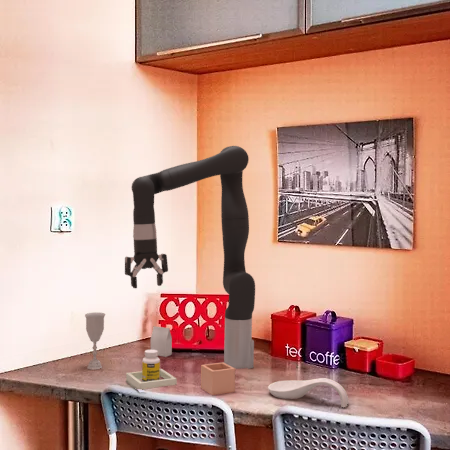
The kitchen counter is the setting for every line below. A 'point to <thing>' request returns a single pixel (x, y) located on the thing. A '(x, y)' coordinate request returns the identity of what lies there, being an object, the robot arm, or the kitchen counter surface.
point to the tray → (134, 382)
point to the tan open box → (217, 378)
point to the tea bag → (161, 341)
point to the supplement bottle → (150, 366)
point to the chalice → (94, 334)
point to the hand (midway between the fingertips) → (147, 286)
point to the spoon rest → (304, 388)
